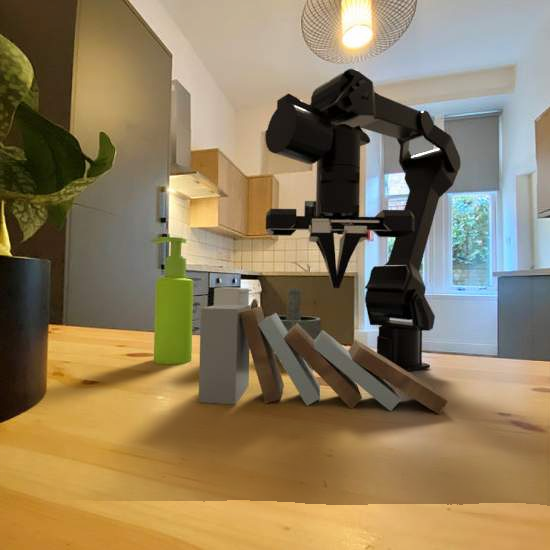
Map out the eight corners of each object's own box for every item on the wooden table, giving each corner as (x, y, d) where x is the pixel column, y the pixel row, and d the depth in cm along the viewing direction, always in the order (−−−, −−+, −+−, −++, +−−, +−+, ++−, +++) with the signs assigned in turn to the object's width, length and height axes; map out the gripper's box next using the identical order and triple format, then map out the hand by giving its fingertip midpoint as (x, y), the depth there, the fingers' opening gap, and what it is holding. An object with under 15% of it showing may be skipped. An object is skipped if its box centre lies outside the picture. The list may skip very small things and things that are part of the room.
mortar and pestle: (320, 365, 55) (321, 289, 55) (261, 363, 55) (262, 288, 56) (318, 351, 66) (319, 288, 66) (269, 350, 67) (270, 287, 67)
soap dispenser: (158, 355, 60) (161, 239, 60) (196, 357, 59) (199, 239, 59) (140, 363, 54) (144, 235, 54) (182, 365, 53) (186, 235, 53)
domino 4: (390, 385, 40) (322, 330, 41) (400, 399, 35) (323, 336, 36) (381, 395, 40) (314, 340, 41) (390, 411, 35) (313, 347, 36)
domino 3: (357, 384, 41) (297, 322, 42) (362, 398, 36) (294, 327, 37) (347, 393, 41) (287, 331, 42) (351, 408, 36) (283, 338, 37)
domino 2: (319, 384, 41) (276, 312, 42) (319, 398, 36) (270, 316, 37) (308, 391, 41) (265, 319, 42) (306, 405, 36) (257, 324, 37)
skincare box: (237, 366, 53) (239, 288, 54) (211, 364, 54) (212, 287, 54) (248, 357, 59) (249, 287, 60) (224, 356, 60) (226, 287, 60)
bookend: (248, 385, 43) (250, 305, 44) (235, 404, 36) (237, 309, 37) (217, 383, 44) (219, 304, 44) (198, 402, 37) (200, 308, 37)
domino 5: (431, 386, 40) (355, 339, 41) (447, 401, 35) (360, 346, 36) (424, 398, 40) (348, 350, 41) (439, 414, 35) (352, 359, 36)
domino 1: (284, 385, 42) (261, 306, 42) (279, 399, 37) (253, 308, 37) (271, 389, 42) (248, 309, 43) (265, 403, 37) (239, 312, 38)
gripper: (392, 189, 54) (390, 289, 54) (272, 188, 55) (270, 286, 55) (417, 164, 43) (415, 290, 42) (266, 163, 44) (263, 286, 44)
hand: (335, 288), depth 46 cm, fingers closed
